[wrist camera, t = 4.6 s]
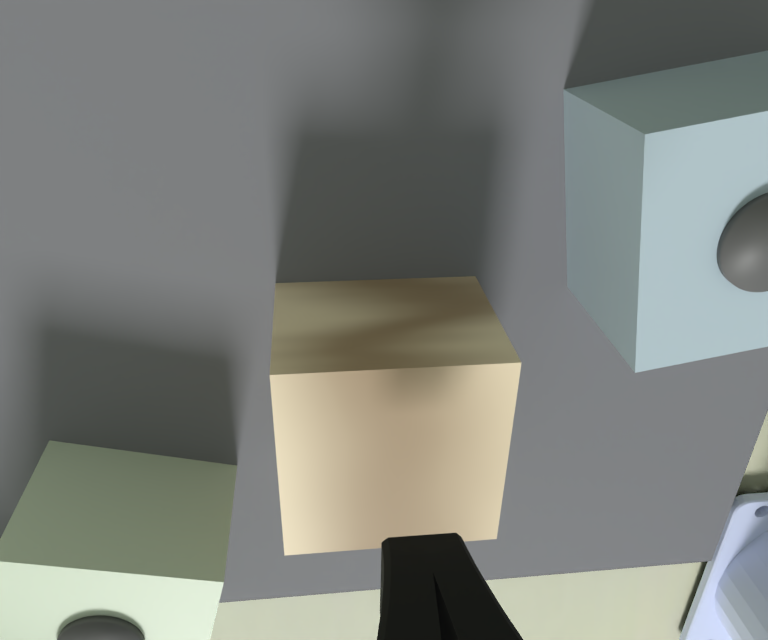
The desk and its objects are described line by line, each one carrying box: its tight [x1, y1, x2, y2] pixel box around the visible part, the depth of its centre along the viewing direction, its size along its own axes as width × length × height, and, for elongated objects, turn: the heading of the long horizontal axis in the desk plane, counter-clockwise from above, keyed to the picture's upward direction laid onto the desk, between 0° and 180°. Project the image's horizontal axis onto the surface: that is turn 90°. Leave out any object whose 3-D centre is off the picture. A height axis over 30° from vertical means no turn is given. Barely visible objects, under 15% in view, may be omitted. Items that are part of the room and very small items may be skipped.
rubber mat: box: [0, 0, 768, 603], centre depth 18 cm, size 24×18×1 cm
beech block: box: [270, 276, 522, 556], centre depth 16 cm, size 5×5×4 cm
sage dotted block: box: [0, 440, 237, 640], centre depth 18 cm, size 5×5×4 cm
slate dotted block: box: [563, 51, 768, 373], centre depth 14 cm, size 5×5×4 cm
